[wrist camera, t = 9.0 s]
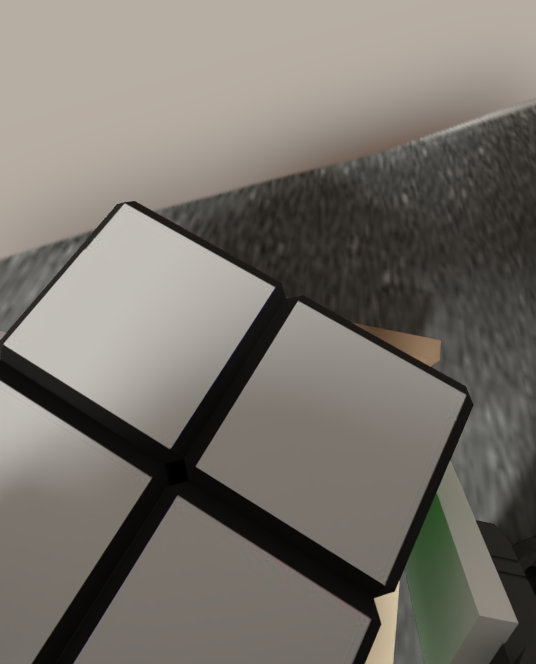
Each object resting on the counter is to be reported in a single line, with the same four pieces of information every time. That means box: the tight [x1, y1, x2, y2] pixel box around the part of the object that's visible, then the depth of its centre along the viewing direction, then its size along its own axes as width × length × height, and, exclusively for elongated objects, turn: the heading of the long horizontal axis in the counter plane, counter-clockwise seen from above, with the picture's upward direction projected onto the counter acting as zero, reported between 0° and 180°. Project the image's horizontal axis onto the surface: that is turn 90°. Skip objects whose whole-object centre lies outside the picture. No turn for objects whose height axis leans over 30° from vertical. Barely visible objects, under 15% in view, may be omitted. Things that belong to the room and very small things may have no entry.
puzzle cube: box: [0, 201, 473, 664], centre depth 14 cm, size 10×10×10 cm
